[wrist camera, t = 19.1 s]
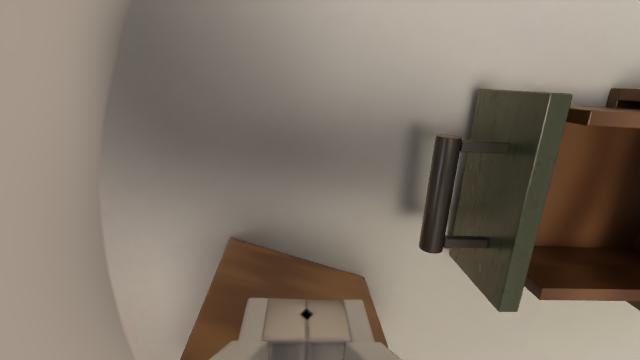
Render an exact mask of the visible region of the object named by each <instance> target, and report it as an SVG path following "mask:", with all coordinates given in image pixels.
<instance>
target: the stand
mask: <svg viewBox="0 0 640 360" xmlns="http://www.w3.org/2000/svg"><path fill="white" fill-rule="evenodd" d="M249 298H268V299H269V298H278V299H303V300H362V301H363V303H364V306H365V310H366V313H367V317H368V320H369V323H370V327H371V330H372V334H373V337H374V340H375V342H381V343H382V344H383V345H385V346H386V347H387V348H388V345H387V342H386V339H385V336H384V334H383V331H382V328H381V325H380V322H379V319H378V316H377V313H376V310H375V307H374V305H373V302H372V299H371V296H370V293H369V290H368V287H367V284H366V281H365V278H363V277H360V276H357V275H353V274H350V273H347V272H343V271H340V270H337V269H333V268H330V267H327V266H323V265H320V264H316V263H313V262H310V261H306V260H303V259H300V258H296V257H293V256H290V255H286V254H283V253H280V252H276V251H273V250H270V249H266V248H263V247H260V246H256V245H253V244H249V243H246V242H243V241H239V240H236V239H233V238H230V240H229V242H228V245H227V247H226V250H225V252H224V254H223V257H222V259H221V262H220V264H219V267H218V269H217V271H216V274H215V276H214V279H213V281H212V284H211V286H210V288H209V291H208V293H207V296H206V298H205V301H204V303H203V306H202V308H201V310H200V313H199V315H198V318H197V320H196V323H195V325H194V327H193V330H192V332H191V335H190V337H189V340H188V342H187V345H186V347H185V349H184V352H183V354H182V357H181V359H180V360H209V359H210V358H212V357H213V356H214V355H215V354H216V353H218V352H219V351H220V350H221V349H222V348H224V347H225V346H226V345H227V344H229V343H230V342H231V341H238V338H239V334H240V330H241V326H242V322H243V318H244V313H245V309H246V305H247V301H248V299H249ZM388 349H389V348H388Z"/></svg>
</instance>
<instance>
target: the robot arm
mask: <svg viewBox="0 0 640 360" xmlns="http://www.w3.org/2000/svg"><path fill="white" fill-rule="evenodd" d="M209 360H402V359H401V358H399V357H398V356H397V355H396V354H394V353H393V352H392V351H391V350H390V349H388V348H387V347H386V346H385V345H383V344H382V343H381V342H375V340H374V337H373V334H372V330H371V327H370V323H369V320H368V317H367V313H366V310H365V306H364V303H363V301H362V300H303V299H278V298H269V299H268V298H249V299H248V301H247V305H246V309H245V313H244V318H243V322H242V326H241V330H240V334H239V338H238V341H231V342H230V343H229V344H227V345H226V346H225V347H224V348H222V349H221V350H220V351H219V352H218V353H216V354H215V355H214V356H213V357H212V358H210V359H209Z"/></svg>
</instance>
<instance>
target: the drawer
mask: <svg viewBox="0 0 640 360" xmlns="http://www.w3.org/2000/svg"><path fill="white" fill-rule="evenodd" d="M571 100H572V94H564V93H548V92H530V91H512V90H494V89H480V90H479V94H478V100H477V105H476V111H475V116H474V122H473V127H472V133H471V138H470V140H462V138H461V137H459V136H453V135H442V134H440V135H436V138H435V144H434V151H433V157H432V164H431V170H430V177H429V183H428V190H427V196H426V203H425V210H424V216H423V223H422V229H421V236H420V242H419V247H420V249H422V250H423V251H425V252H428V253H440V252H442V249H443V247H445V248H450V254H449V255H450V256H451V258H452V259H453V260H454V261H455V262H456V263H457V264H458V266H459V267H460V268H461V269H462V270H463V271H464V272H465V274H466V275H467V276H468V277H469V278H470V279H471V281H472V282H473V283H474V284H475V285H476V286H477V287H478V289H479V290H480V291H481V292H482V293H483V294H484V295H485V297H486V298H487V299H488V300H489V301H490V302H491V304H492V305H493V306H494V307H495V308H496V309H497V310H498V311H499V312H517V311H518V307H519V303H520V299H521V296H522V292H523V288H524V286H525V287H526V288H527V289H528V290H529V291H530V292H532V293H533V294H534V295H535V296H536V297H537V298H538V299H539V300H598V301H640V109H625V108H609V107H592V106H576V105H570V104H571ZM460 151H461V152H468V155H467V160H466V166H465V171H464V177H463V182H462V188H461V193H460V199H459V204H458V210H457V215H456V221H455V226H454V232H453V235H445V232H446V227H447V221H448V215H449V209H450V204H451V198H452V192H453V187H454V181H455V175H456V169H457V164H458V158H459V152H460Z"/></svg>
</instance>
